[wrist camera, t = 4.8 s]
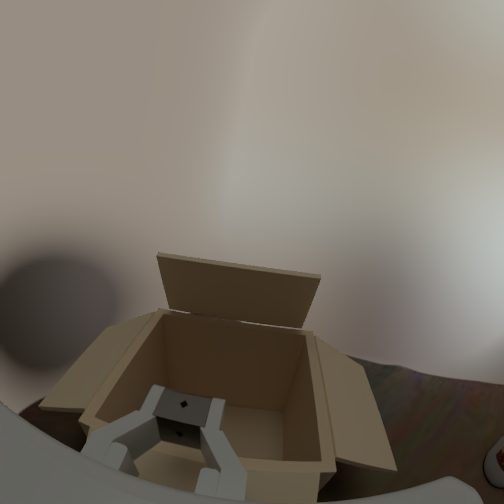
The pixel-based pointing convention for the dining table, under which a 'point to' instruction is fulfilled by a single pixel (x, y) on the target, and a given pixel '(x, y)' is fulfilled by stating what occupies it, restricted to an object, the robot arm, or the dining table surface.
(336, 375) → the carton
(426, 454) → the dining table surface
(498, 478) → the milk bottle
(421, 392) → the dining table surface
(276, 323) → the flap
